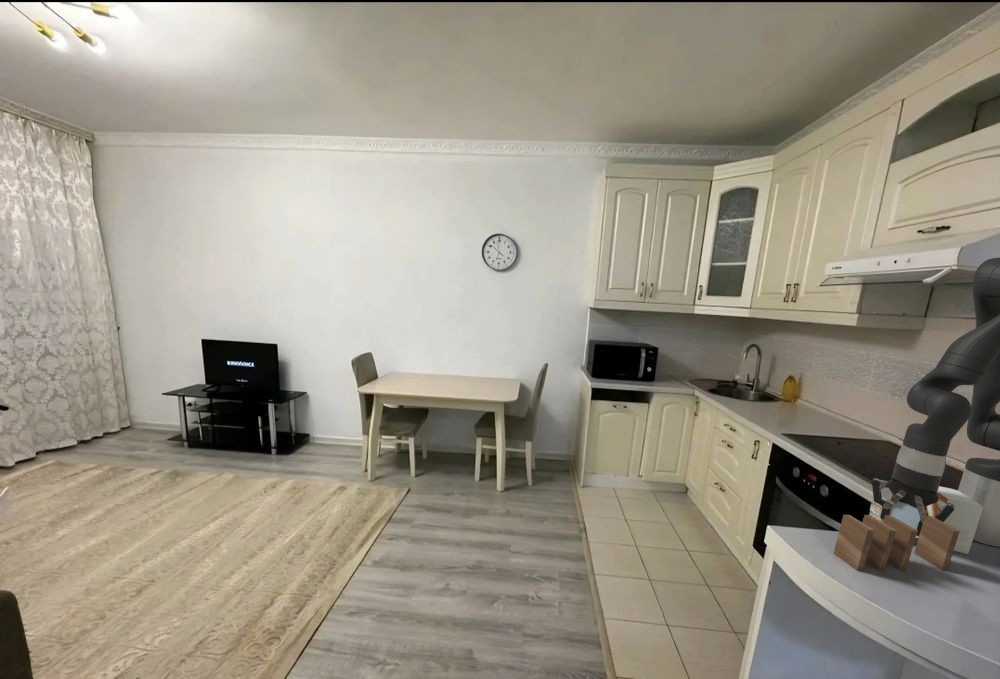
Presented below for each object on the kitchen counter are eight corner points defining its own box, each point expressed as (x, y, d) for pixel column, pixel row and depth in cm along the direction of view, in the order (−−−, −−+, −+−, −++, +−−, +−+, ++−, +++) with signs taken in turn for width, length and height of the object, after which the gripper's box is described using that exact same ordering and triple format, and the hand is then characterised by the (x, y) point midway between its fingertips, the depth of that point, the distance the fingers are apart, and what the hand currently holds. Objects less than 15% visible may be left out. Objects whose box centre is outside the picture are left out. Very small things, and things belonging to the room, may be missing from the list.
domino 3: (884, 531, 93) (894, 496, 91) (913, 543, 89) (923, 507, 87) (883, 533, 92) (893, 498, 90) (912, 545, 88) (923, 509, 86)
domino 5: (919, 553, 85) (930, 515, 83) (947, 569, 80) (959, 530, 78) (913, 553, 85) (925, 515, 83) (941, 569, 80) (953, 530, 78)
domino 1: (839, 553, 82) (849, 514, 81) (863, 570, 78) (874, 529, 76) (833, 553, 82) (843, 514, 81) (856, 570, 77) (867, 529, 76)
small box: (912, 526, 96) (925, 482, 94) (945, 535, 93) (959, 490, 91) (933, 545, 88) (947, 498, 86) (969, 555, 86) (985, 506, 84)
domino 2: (859, 553, 83) (870, 515, 82) (884, 570, 78) (896, 530, 77) (853, 553, 83) (864, 515, 81) (878, 570, 78) (890, 530, 76)
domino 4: (880, 553, 84) (890, 515, 82) (905, 570, 79) (917, 530, 77) (874, 553, 84) (884, 515, 82) (899, 570, 79) (911, 530, 77)
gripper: (874, 457, 91) (858, 516, 93) (965, 485, 79) (944, 552, 82) (879, 451, 95) (864, 508, 98) (966, 476, 84) (946, 540, 86)
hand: (901, 527), depth 90 cm, fingers closed on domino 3, 5 cm apart
